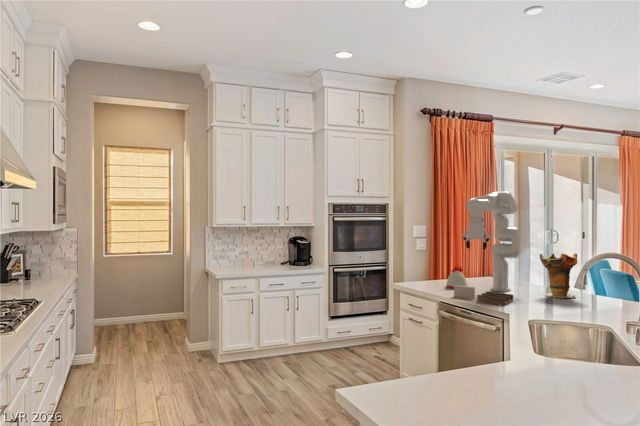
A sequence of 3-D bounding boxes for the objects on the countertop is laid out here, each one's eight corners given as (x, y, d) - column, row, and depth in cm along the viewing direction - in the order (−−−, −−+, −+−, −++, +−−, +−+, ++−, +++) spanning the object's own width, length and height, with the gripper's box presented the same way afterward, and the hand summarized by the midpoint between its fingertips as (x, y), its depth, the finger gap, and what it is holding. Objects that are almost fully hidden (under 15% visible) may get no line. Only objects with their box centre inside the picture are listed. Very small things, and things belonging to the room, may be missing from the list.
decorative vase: (549, 291, 300) (550, 249, 300) (585, 297, 281) (586, 252, 281) (531, 294, 289) (531, 251, 289) (567, 300, 270) (568, 254, 269)
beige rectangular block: (455, 296, 285) (455, 285, 285) (474, 298, 277) (474, 287, 277) (453, 296, 282) (454, 285, 282) (472, 299, 275) (472, 287, 275)
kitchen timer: (469, 289, 309) (469, 267, 309) (449, 289, 309) (449, 267, 309) (463, 285, 323) (463, 264, 322) (444, 285, 323) (444, 264, 323)
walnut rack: (486, 298, 278) (486, 291, 278) (513, 301, 268) (513, 294, 268) (477, 301, 266) (477, 295, 266) (505, 305, 256) (505, 298, 256)
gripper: (493, 220, 268) (492, 249, 268) (464, 219, 279) (464, 247, 279) (489, 220, 262) (489, 250, 262) (460, 220, 273) (459, 248, 273)
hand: (476, 248), depth 271 cm, fingers open, 9 cm apart
